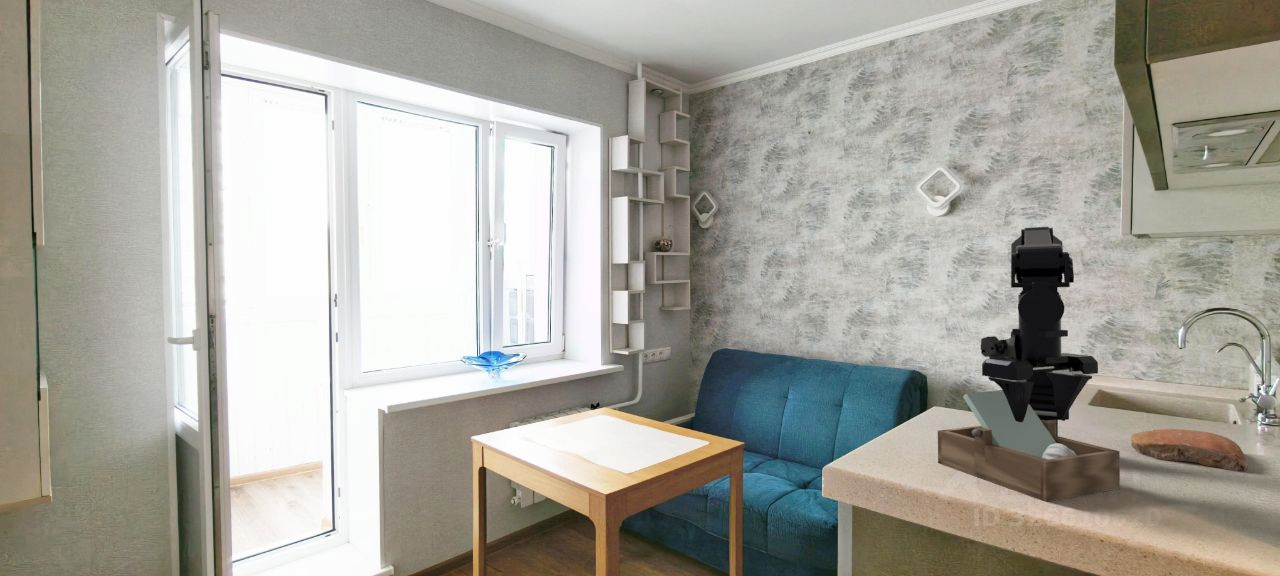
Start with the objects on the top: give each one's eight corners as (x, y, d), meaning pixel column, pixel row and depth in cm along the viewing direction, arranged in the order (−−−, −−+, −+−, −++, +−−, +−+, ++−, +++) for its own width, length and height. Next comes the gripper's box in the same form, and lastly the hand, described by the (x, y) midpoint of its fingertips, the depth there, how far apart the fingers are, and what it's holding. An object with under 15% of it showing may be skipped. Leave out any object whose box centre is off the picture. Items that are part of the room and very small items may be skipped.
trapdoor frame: (1008, 453, 111) (1007, 410, 111) (1124, 487, 92) (1123, 435, 92) (933, 463, 106) (933, 418, 105) (1041, 502, 87) (1040, 447, 86)
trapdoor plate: (1014, 391, 107) (1018, 388, 106) (1065, 464, 98) (1070, 461, 97) (962, 396, 103) (966, 393, 102) (1011, 472, 94) (1015, 470, 93)
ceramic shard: (1131, 415, 119) (1235, 437, 110) (1125, 446, 119) (1229, 471, 110) (1136, 419, 107) (1252, 444, 98) (1129, 454, 107) (1246, 482, 98)
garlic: (1030, 448, 94) (1064, 457, 89) (1053, 435, 96) (1087, 443, 91) (1038, 483, 95) (1072, 493, 90) (1061, 469, 97) (1095, 479, 92)
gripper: (1034, 318, 106) (1035, 405, 106) (953, 322, 100) (954, 413, 100) (1100, 322, 96) (1100, 418, 96) (1013, 326, 90) (1014, 429, 90)
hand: (1040, 419), depth 96 cm, fingers open, 9 cm apart
